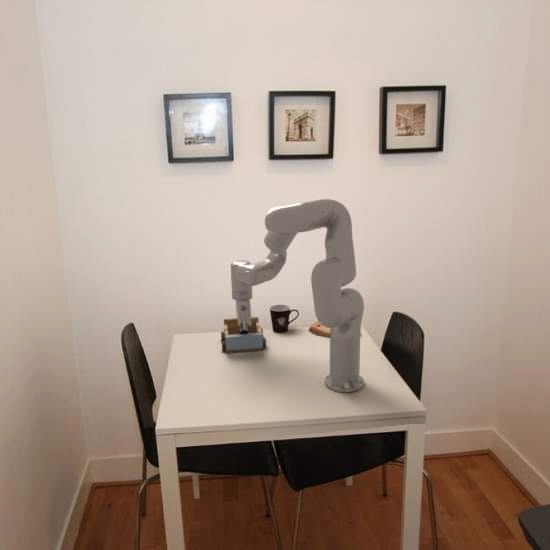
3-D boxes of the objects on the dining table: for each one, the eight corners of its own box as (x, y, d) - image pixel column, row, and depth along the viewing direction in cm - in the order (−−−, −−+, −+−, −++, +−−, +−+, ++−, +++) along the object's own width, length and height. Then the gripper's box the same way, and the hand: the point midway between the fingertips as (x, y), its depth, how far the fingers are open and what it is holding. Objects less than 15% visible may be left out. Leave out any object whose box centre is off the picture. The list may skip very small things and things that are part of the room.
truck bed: (266, 350, 179) (266, 330, 177) (222, 353, 177) (221, 333, 175) (262, 334, 195) (261, 316, 193) (221, 337, 193) (220, 319, 191)
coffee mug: (267, 333, 196) (266, 310, 194) (273, 325, 204) (273, 304, 202) (294, 335, 193) (294, 312, 191) (299, 328, 201) (299, 305, 199)
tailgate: (262, 347, 177) (262, 334, 174) (226, 350, 175) (226, 337, 172) (262, 345, 178) (262, 332, 175) (226, 348, 176) (225, 335, 173)
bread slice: (363, 336, 191) (364, 328, 190) (324, 344, 185) (324, 335, 184) (342, 322, 207) (342, 314, 206) (305, 328, 201) (305, 320, 200)
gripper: (254, 299, 166) (255, 347, 171) (250, 287, 181) (252, 332, 185) (232, 300, 165) (235, 349, 170) (231, 289, 180) (233, 333, 184)
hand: (244, 340), depth 178 cm, fingers closed
